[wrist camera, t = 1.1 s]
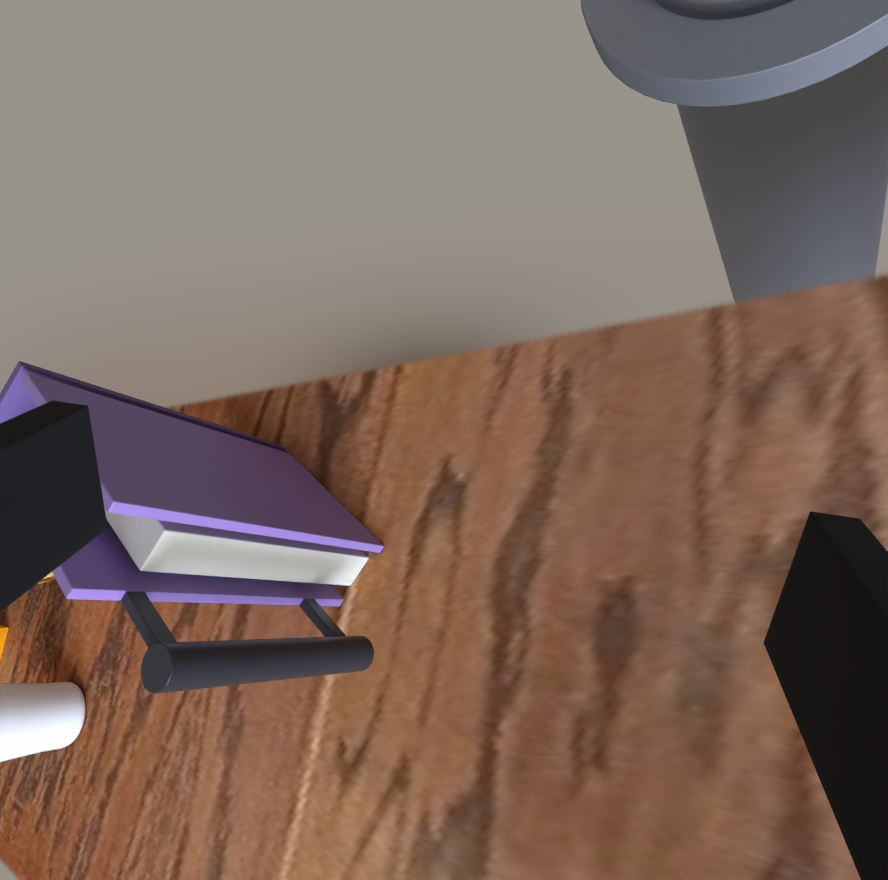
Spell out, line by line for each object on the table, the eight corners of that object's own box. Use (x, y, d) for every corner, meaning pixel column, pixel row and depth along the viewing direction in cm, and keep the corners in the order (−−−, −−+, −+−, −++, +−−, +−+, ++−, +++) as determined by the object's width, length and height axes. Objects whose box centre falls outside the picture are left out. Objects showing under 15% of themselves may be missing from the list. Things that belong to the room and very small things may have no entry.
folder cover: (259, 492, 49) (1, 434, 34) (403, 649, 40) (133, 669, 24) (246, 513, 49) (-17, 465, 34) (386, 675, 40) (107, 710, 24)
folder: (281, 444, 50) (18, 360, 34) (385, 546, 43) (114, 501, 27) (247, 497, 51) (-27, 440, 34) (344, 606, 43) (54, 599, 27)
